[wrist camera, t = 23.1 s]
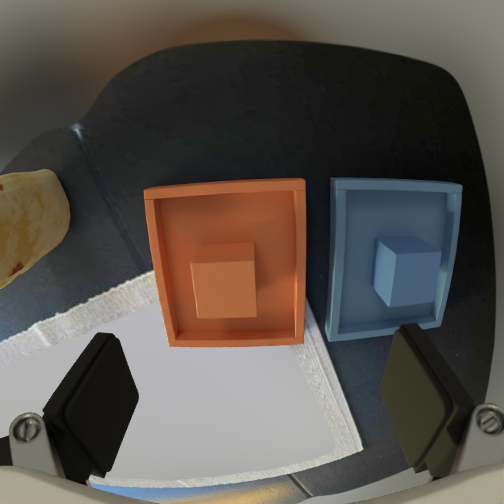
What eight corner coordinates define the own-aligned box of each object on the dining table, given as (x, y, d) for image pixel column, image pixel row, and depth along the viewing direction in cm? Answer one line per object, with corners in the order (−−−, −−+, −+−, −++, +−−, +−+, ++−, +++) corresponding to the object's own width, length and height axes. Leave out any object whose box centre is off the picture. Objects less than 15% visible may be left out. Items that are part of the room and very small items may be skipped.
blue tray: (330, 177, 24) (336, 179, 22) (450, 182, 23) (462, 184, 22) (324, 330, 28) (328, 341, 26) (432, 317, 28) (440, 326, 26)
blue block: (374, 237, 25) (395, 254, 21) (417, 236, 25) (442, 251, 20) (370, 284, 26) (388, 307, 22) (411, 281, 26) (433, 302, 22)
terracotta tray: (151, 187, 24) (143, 190, 22) (301, 177, 24) (305, 179, 22) (173, 335, 29) (169, 346, 27) (300, 332, 28) (303, 344, 26)
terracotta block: (201, 244, 25) (190, 263, 21) (254, 242, 25) (254, 260, 21) (206, 293, 27) (198, 318, 22) (257, 291, 26) (257, 317, 22)
